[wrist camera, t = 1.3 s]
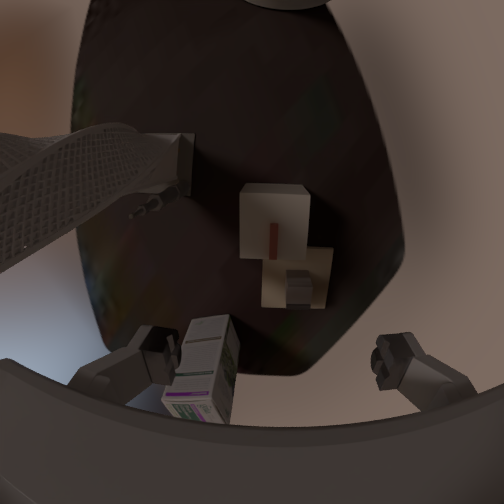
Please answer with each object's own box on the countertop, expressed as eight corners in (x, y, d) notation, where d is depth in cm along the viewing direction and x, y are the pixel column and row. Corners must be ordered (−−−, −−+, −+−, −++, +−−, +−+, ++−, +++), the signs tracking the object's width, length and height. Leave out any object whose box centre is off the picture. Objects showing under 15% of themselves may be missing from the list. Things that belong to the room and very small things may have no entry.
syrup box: (190, 318, 36) (156, 400, 22) (231, 312, 35) (211, 401, 21) (204, 348, 38) (180, 430, 24) (243, 344, 37) (230, 431, 23)
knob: (246, 183, 28) (238, 194, 22) (302, 184, 28) (311, 196, 22) (245, 236, 31) (239, 260, 24) (299, 237, 30) (306, 263, 24)
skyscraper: (126, 191, 30) (-84, 315, 4) (129, 125, 27) (-113, 156, 1) (191, 195, 30) (-26, 388, 4) (196, 123, 26) (-93, 110, 1)
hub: (263, 244, 31) (261, 262, 26) (332, 247, 30) (342, 265, 26) (261, 304, 34) (260, 328, 29) (323, 305, 33) (330, 329, 29)
